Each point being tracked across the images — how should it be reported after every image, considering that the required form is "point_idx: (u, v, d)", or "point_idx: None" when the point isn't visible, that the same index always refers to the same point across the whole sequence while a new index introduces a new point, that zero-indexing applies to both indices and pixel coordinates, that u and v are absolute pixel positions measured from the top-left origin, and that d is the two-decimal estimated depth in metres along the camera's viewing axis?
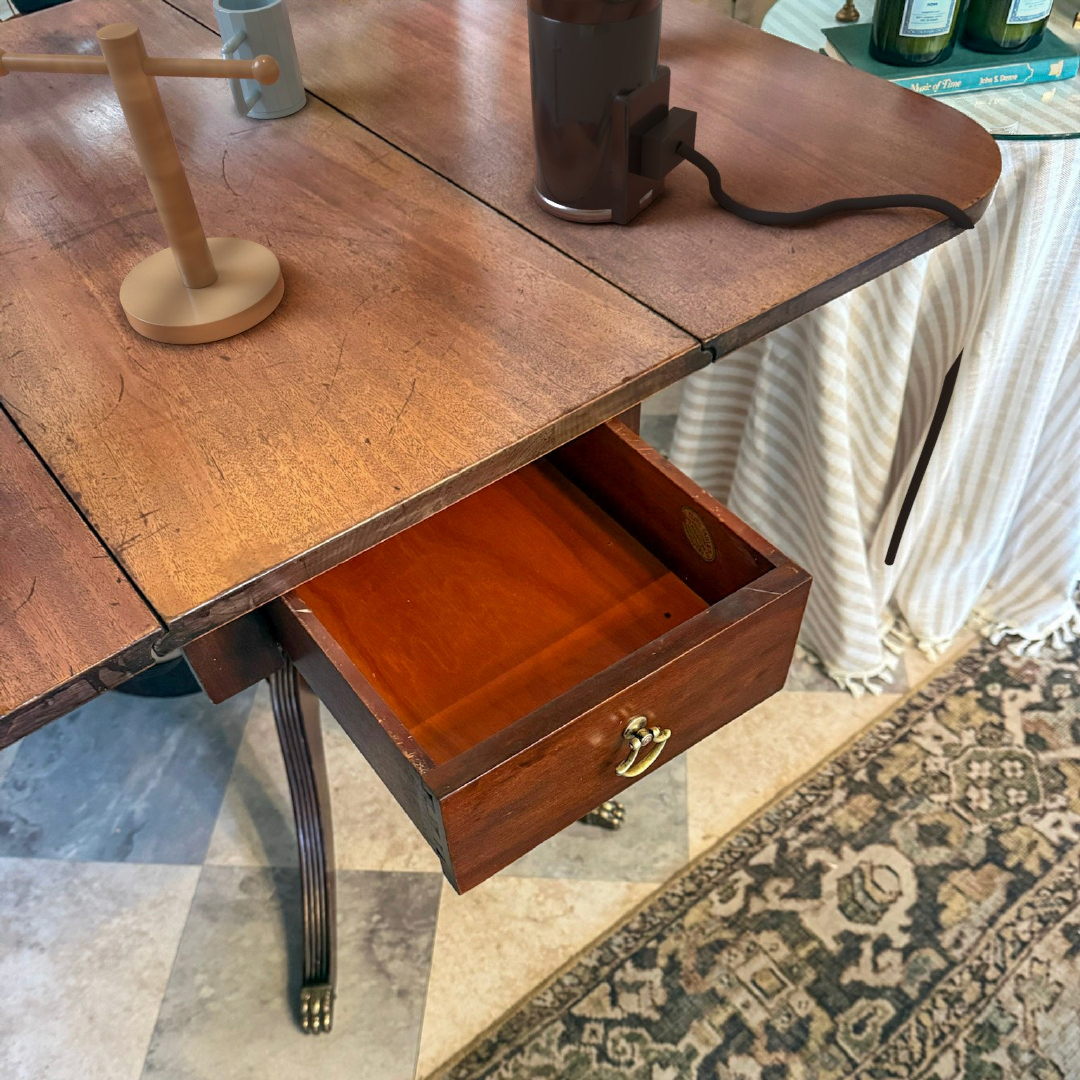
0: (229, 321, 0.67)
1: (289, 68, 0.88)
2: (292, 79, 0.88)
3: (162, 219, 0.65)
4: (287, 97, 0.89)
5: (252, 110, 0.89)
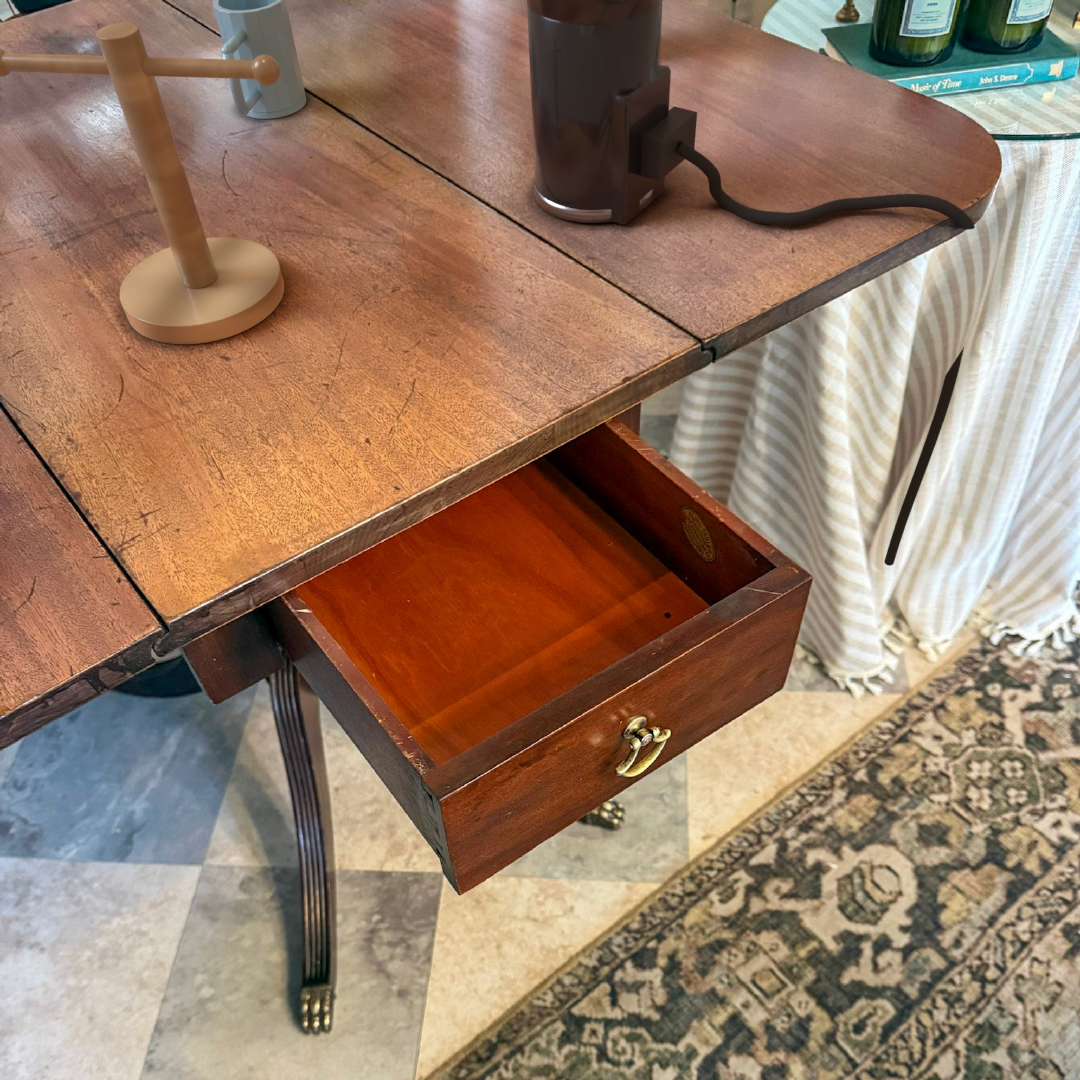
0: (229, 321, 0.67)
1: (289, 68, 0.88)
2: (292, 79, 0.88)
3: (162, 219, 0.65)
4: (287, 97, 0.89)
5: (252, 110, 0.89)
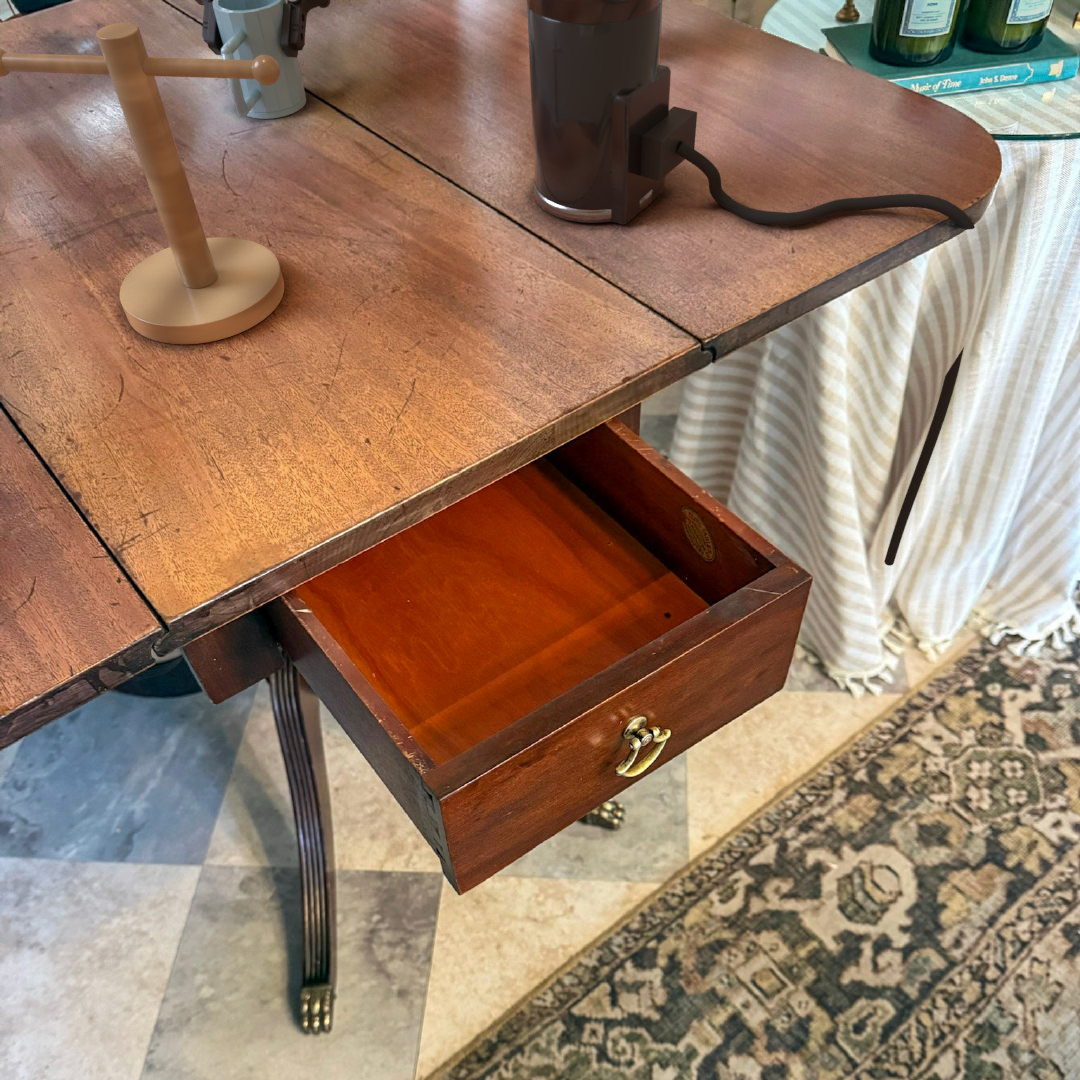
0: (229, 321, 0.67)
1: (289, 68, 0.88)
2: (292, 79, 0.88)
3: (162, 219, 0.65)
4: (287, 97, 0.89)
5: (252, 110, 0.89)
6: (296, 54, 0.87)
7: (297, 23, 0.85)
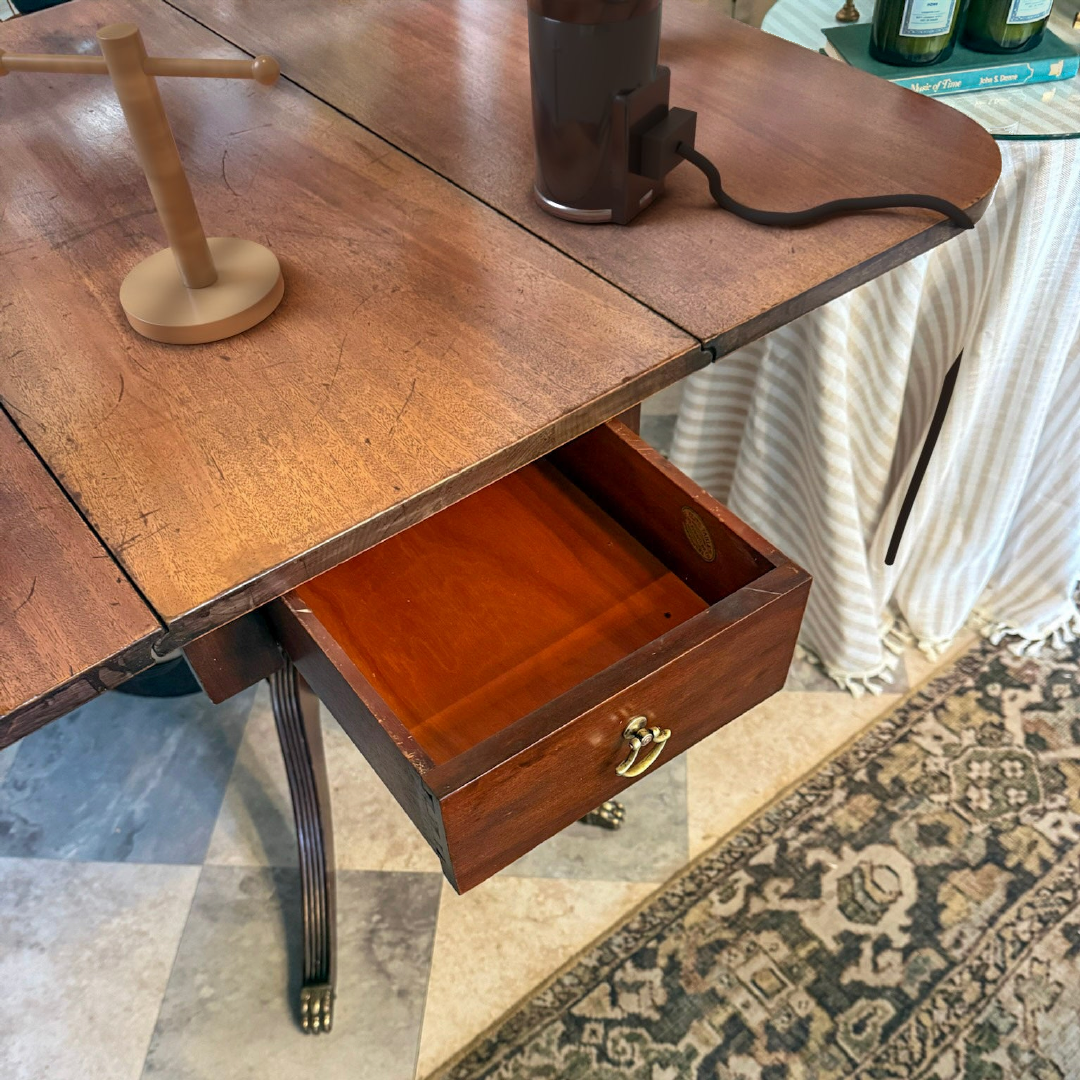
0: (229, 321, 0.67)
1: None
2: None
3: (162, 219, 0.65)
4: None
5: None
6: None
7: None
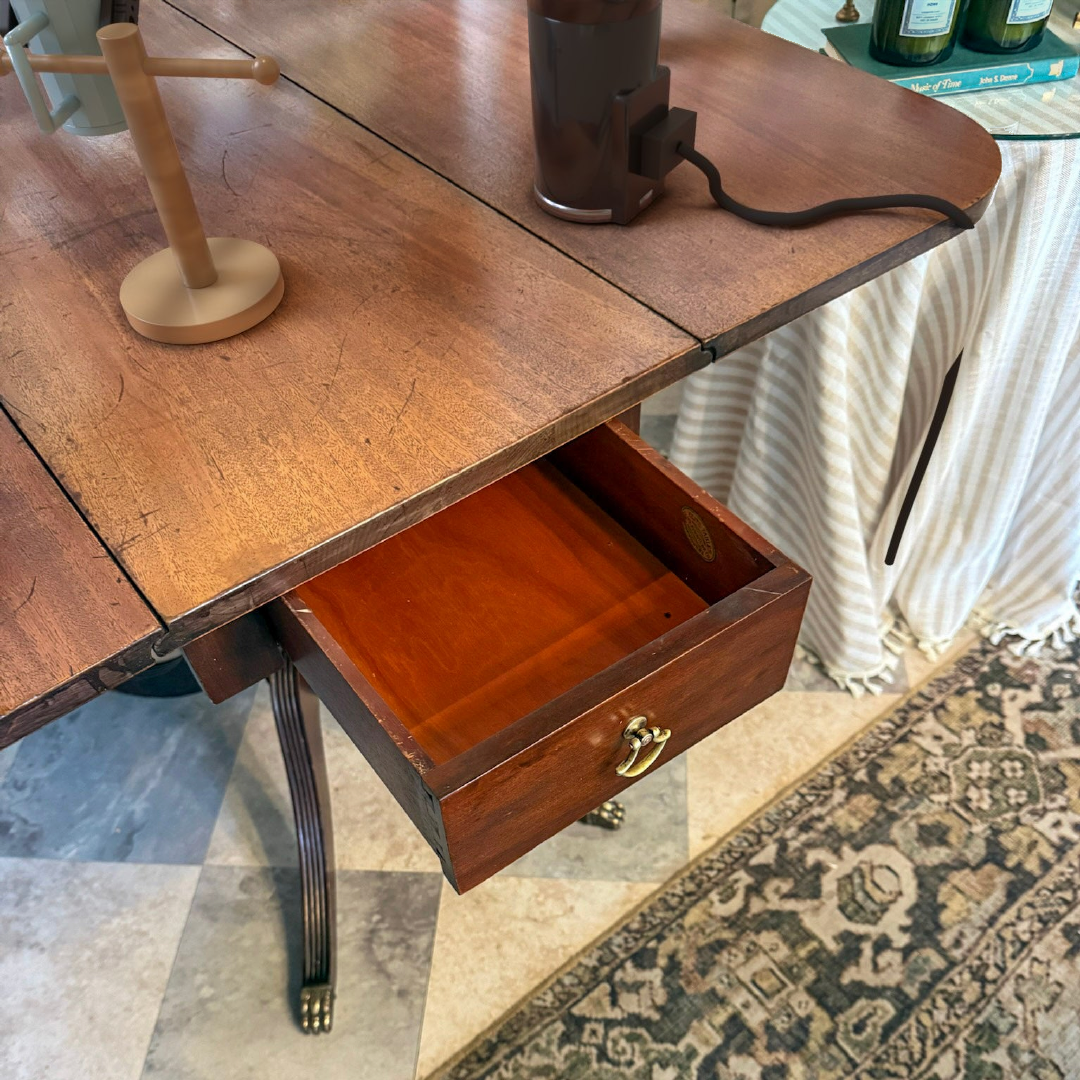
0: (229, 321, 0.67)
1: None
2: None
3: (162, 219, 0.65)
4: (120, 106, 0.64)
5: (72, 124, 0.64)
6: None
7: (123, 2, 0.60)
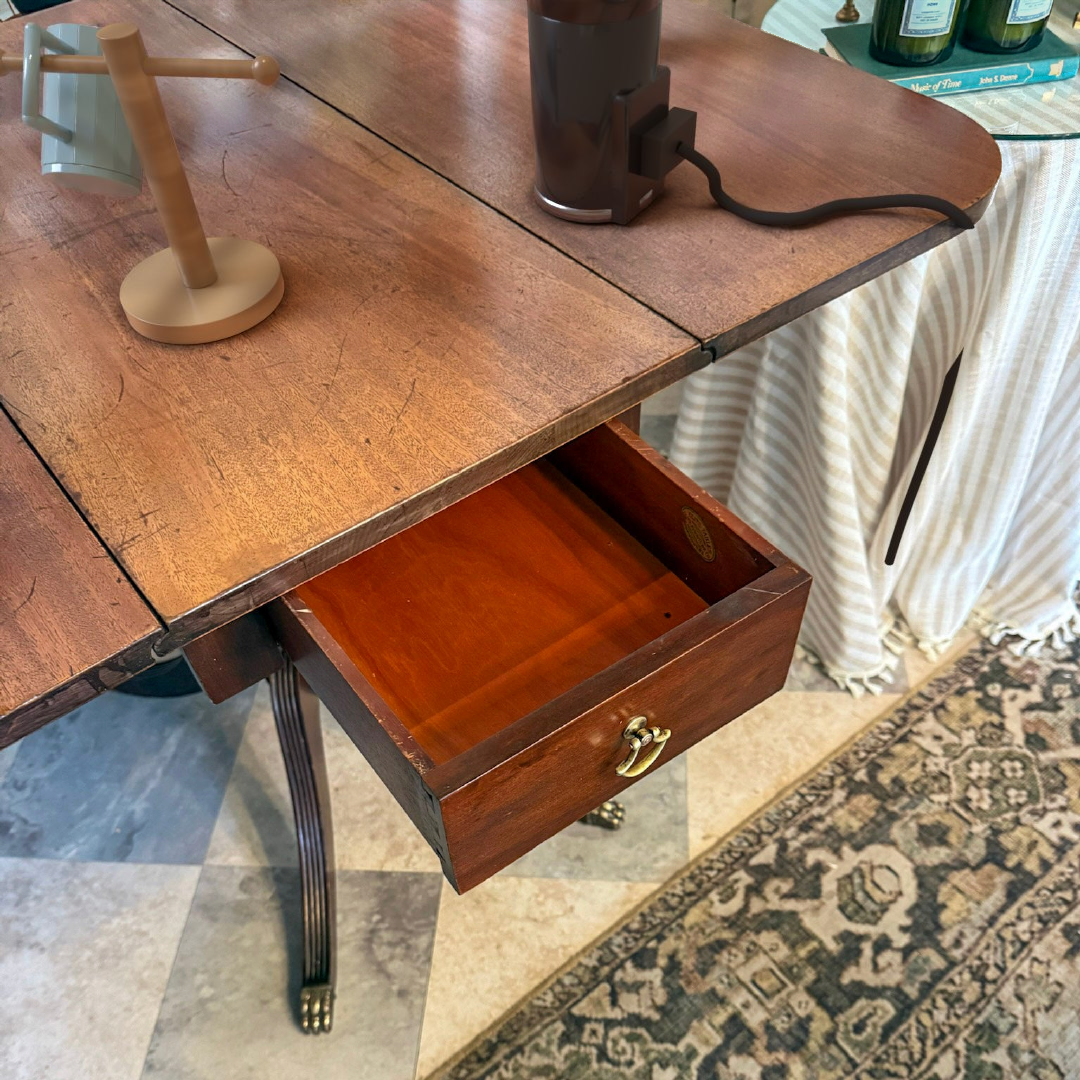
0: (229, 321, 0.67)
1: (124, 122, 0.64)
2: (125, 139, 0.64)
3: (162, 219, 0.65)
4: (110, 154, 0.63)
5: (54, 160, 0.63)
6: None
7: None
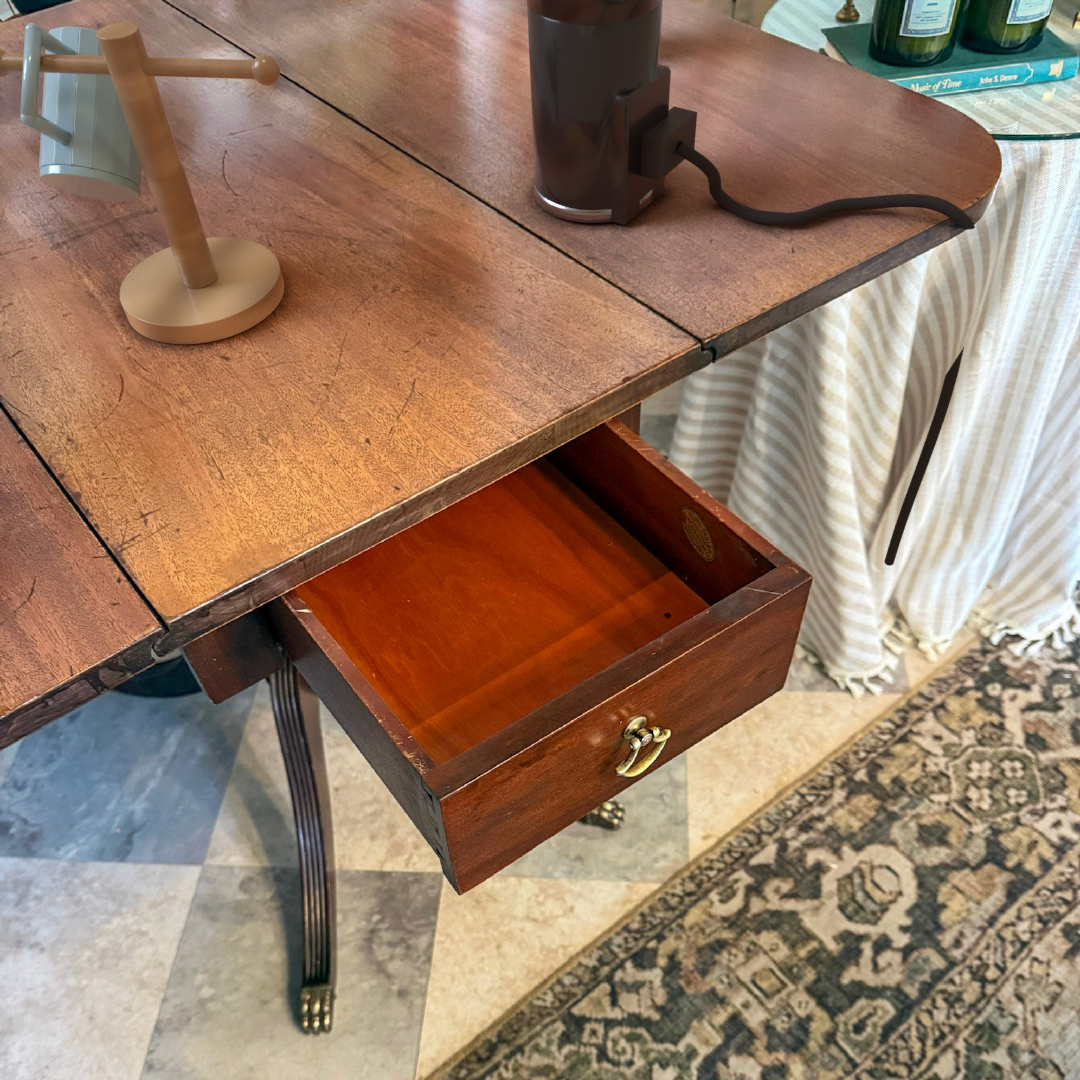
0: (229, 321, 0.67)
1: (123, 125, 0.64)
2: (123, 142, 0.64)
3: (162, 219, 0.65)
4: (108, 156, 0.63)
5: (52, 162, 0.63)
6: None
7: None
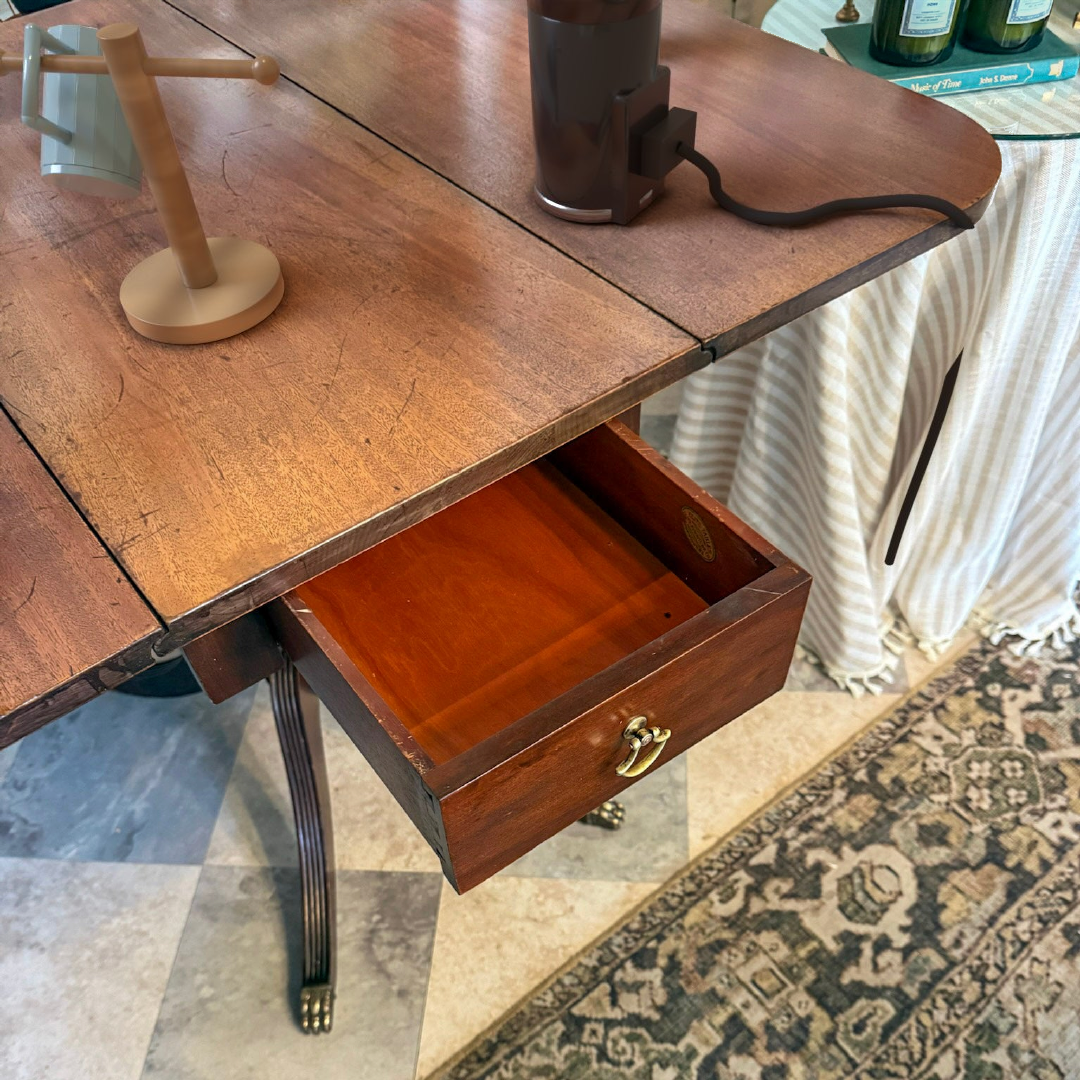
0: (229, 321, 0.67)
1: (124, 124, 0.64)
2: (124, 140, 0.64)
3: (162, 219, 0.65)
4: (109, 155, 0.63)
5: (53, 161, 0.63)
6: None
7: None
